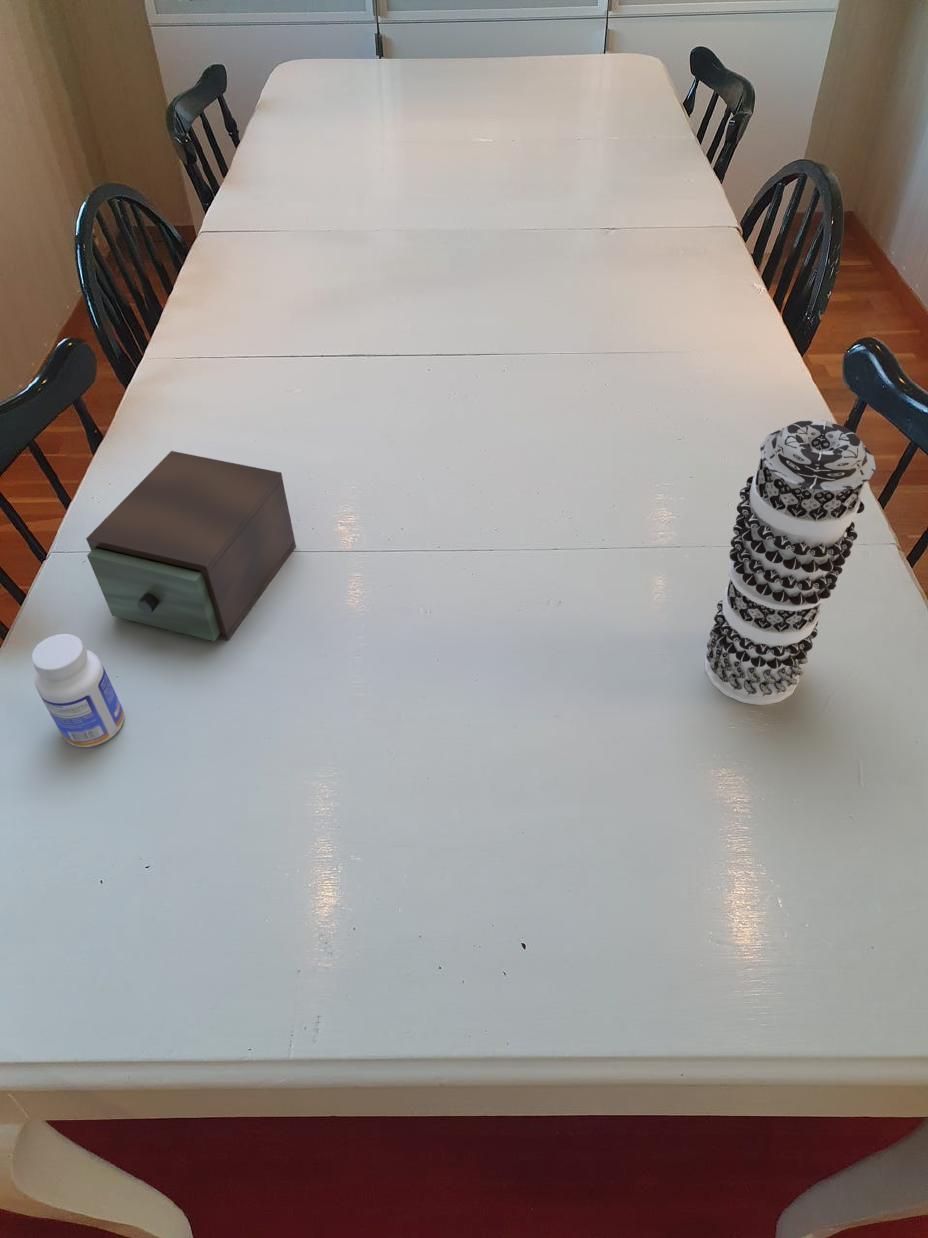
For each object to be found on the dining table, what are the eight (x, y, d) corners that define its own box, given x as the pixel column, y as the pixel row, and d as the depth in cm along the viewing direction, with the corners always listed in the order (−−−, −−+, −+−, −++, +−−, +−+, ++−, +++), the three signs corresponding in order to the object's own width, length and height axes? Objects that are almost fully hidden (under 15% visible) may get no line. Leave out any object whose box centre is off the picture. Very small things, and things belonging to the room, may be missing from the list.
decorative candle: (710, 622, 87) (766, 394, 69) (809, 648, 85) (893, 417, 67) (689, 690, 81) (744, 459, 64) (795, 720, 79) (883, 488, 61)
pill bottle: (93, 693, 83) (57, 617, 76) (138, 714, 81) (105, 639, 74) (48, 735, 79) (6, 660, 72) (94, 758, 77) (55, 684, 70)
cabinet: (228, 640, 87) (206, 566, 80) (116, 612, 90) (85, 538, 83) (296, 546, 97) (281, 472, 90) (193, 523, 100) (171, 450, 93)
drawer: (208, 650, 85) (188, 589, 79) (104, 624, 88) (78, 563, 82) (280, 552, 94) (266, 491, 89) (184, 531, 97) (166, 471, 92)
